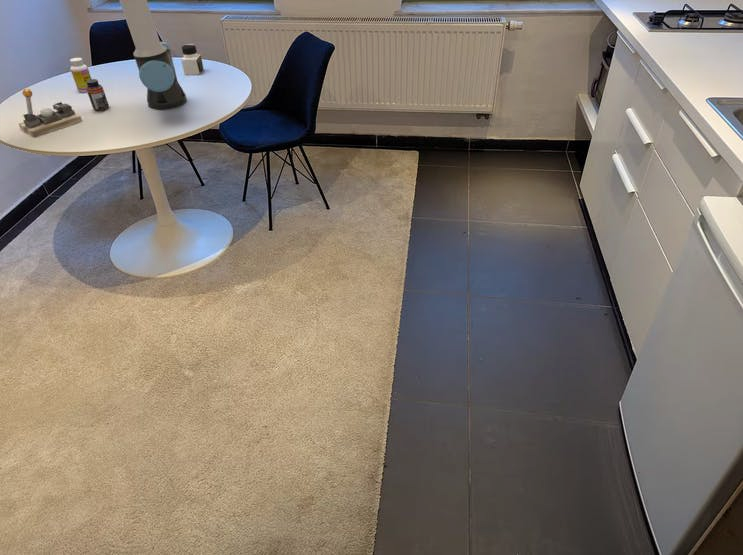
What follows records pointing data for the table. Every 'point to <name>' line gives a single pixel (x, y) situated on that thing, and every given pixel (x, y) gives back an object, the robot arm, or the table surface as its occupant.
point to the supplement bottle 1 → (80, 74)
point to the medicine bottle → (191, 60)
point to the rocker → (58, 107)
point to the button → (46, 113)
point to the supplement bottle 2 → (97, 95)
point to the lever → (28, 100)
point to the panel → (49, 121)
